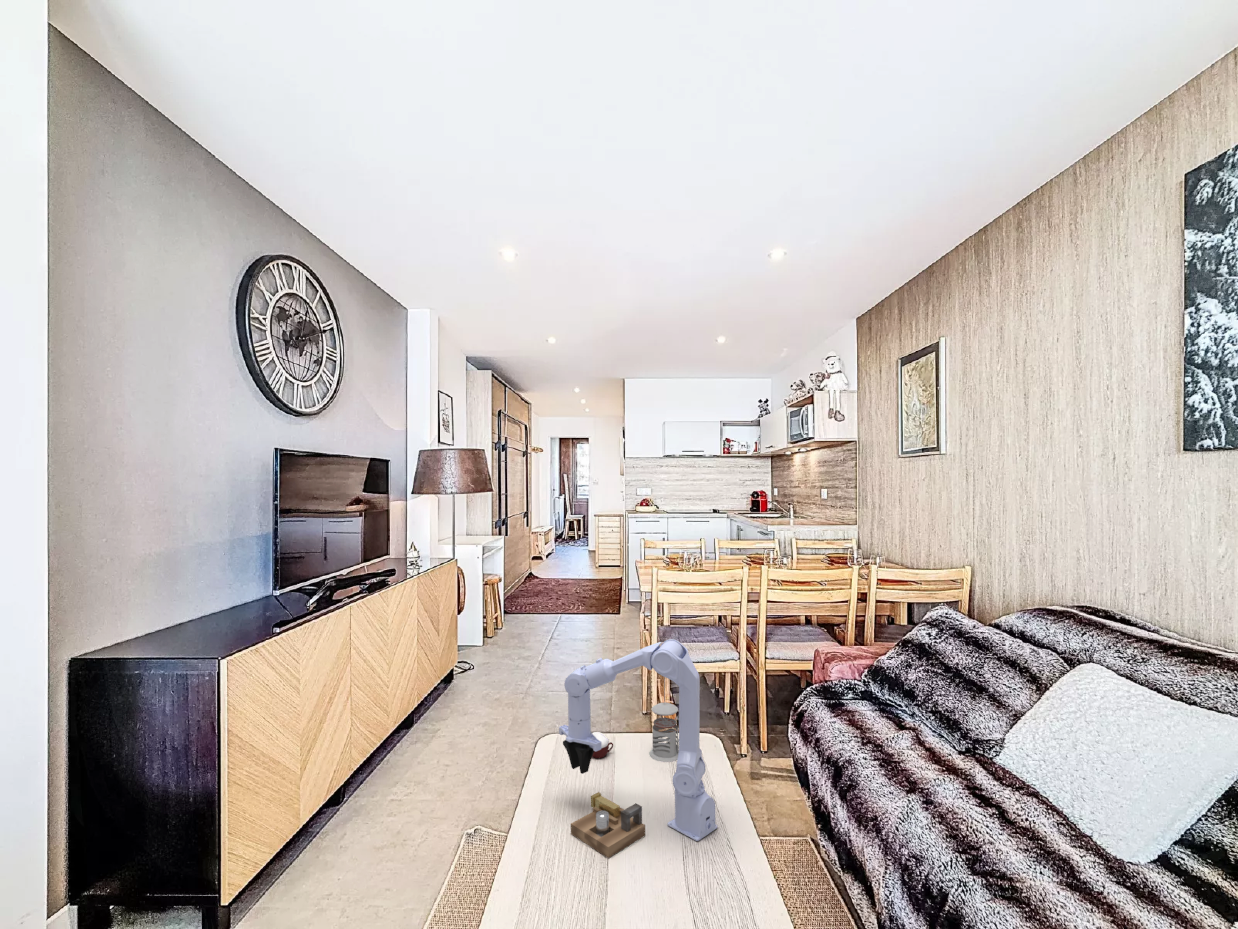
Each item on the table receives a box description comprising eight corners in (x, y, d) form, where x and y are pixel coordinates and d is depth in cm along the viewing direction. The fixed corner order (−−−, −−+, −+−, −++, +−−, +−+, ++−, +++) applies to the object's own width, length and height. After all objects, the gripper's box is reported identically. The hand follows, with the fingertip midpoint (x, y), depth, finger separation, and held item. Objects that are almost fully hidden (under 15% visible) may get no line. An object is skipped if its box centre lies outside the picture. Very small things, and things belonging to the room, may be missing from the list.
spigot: (611, 838, 147) (611, 812, 147) (604, 845, 144) (604, 819, 144) (600, 834, 149) (600, 809, 149) (593, 841, 146) (593, 815, 146)
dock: (645, 835, 148) (644, 808, 148) (608, 858, 140) (608, 829, 140) (607, 813, 157) (607, 788, 157) (570, 834, 149) (570, 806, 149)
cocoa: (613, 753, 191) (615, 713, 191) (610, 762, 185) (612, 721, 185) (583, 750, 192) (584, 710, 193) (579, 758, 186) (580, 718, 186)
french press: (658, 744, 196) (657, 664, 196) (692, 752, 190) (691, 670, 190) (643, 757, 187) (642, 673, 187) (678, 766, 181) (677, 680, 181)
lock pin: (620, 814, 152) (620, 804, 152) (613, 819, 150) (612, 808, 150) (598, 802, 158) (598, 792, 158) (590, 806, 156) (590, 795, 156)
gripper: (549, 713, 163) (550, 765, 163) (586, 730, 153) (587, 785, 153) (570, 705, 168) (571, 756, 168) (607, 721, 158) (608, 775, 158)
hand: (580, 769), depth 161 cm, fingers open, 3 cm apart
